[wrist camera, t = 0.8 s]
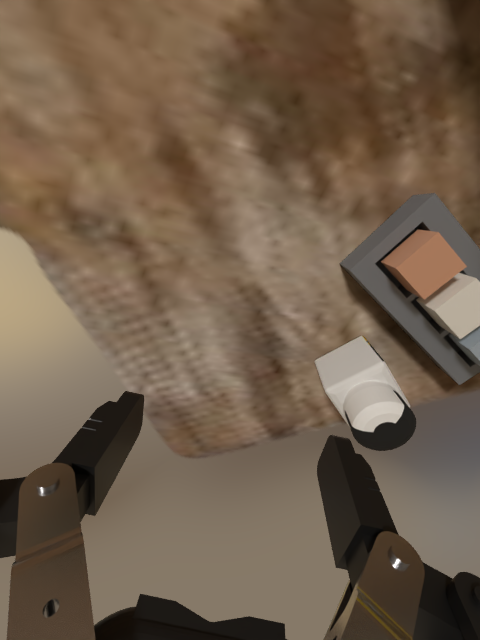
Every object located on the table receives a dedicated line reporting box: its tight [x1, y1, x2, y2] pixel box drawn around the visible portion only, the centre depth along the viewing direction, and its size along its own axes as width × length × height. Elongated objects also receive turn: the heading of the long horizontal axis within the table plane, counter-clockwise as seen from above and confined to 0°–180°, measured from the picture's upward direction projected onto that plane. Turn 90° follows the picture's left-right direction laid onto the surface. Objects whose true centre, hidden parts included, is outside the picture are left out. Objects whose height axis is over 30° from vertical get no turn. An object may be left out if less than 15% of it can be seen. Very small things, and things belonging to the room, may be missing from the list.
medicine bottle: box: [315, 336, 416, 451], centre depth 32 cm, size 7×7×12 cm
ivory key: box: [416, 273, 480, 339], centre depth 29 cm, size 4×4×4 cm
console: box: [340, 193, 480, 385], centre depth 32 cm, size 10×20×4 cm, turn 47°
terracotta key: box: [381, 230, 467, 300], centre depth 27 cm, size 4×4×4 cm
